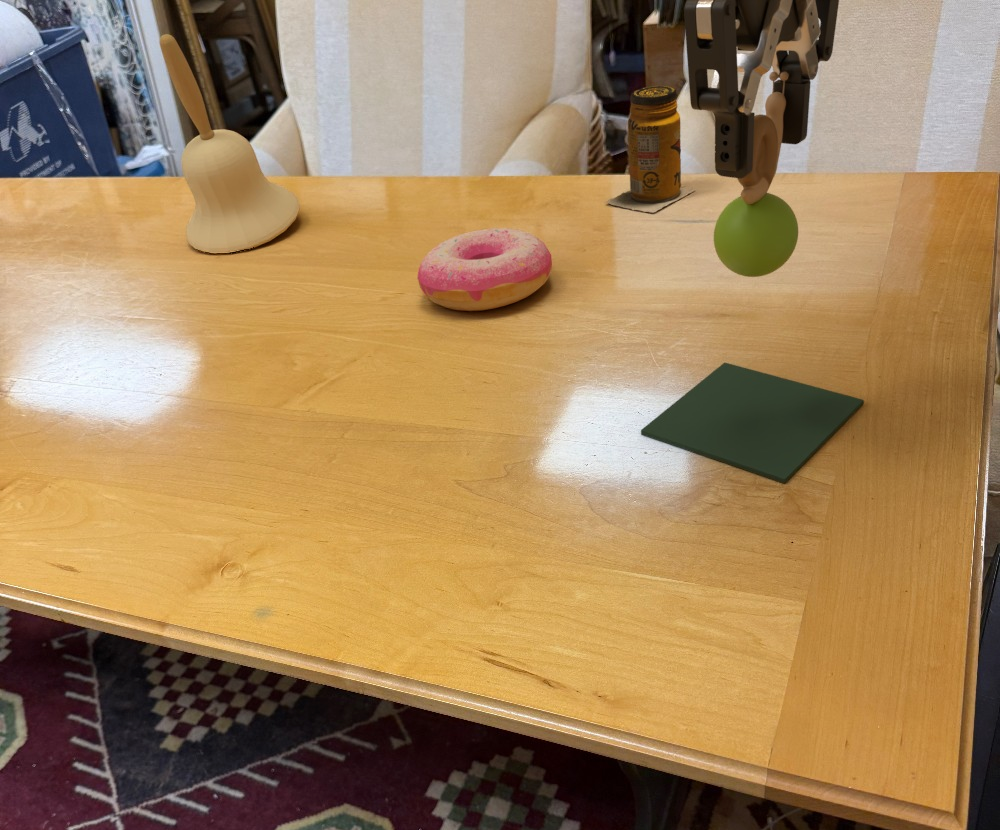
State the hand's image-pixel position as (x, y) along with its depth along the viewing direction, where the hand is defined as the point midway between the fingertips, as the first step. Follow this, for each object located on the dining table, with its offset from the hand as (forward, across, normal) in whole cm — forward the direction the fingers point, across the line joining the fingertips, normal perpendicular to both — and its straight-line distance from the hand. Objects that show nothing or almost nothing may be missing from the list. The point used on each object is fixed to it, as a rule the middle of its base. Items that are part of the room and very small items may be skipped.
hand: (761, 157), depth 58 cm
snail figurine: (+8, 0, 0) cm, 8 cm away
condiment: (+20, -37, -35) cm, 54 cm away
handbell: (+20, -6, -78) cm, 81 cm away
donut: (+20, -8, -35) cm, 41 cm away
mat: (+20, 0, 0) cm, 20 cm away
